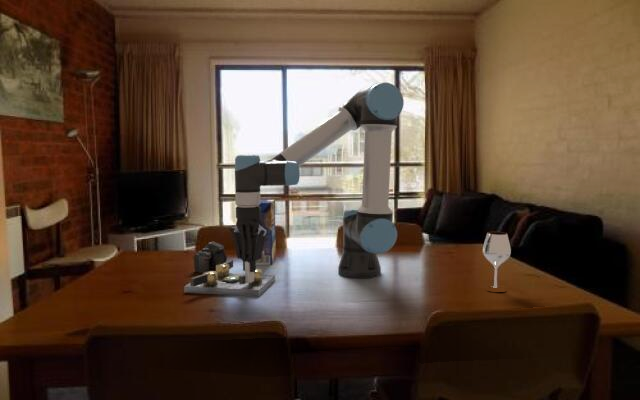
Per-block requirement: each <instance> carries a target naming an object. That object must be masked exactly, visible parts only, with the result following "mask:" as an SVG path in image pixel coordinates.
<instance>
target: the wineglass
mask: <svg viewBox="0 0 640 400" xmlns="http://www.w3.org/2000/svg"><path fill="white" fill-rule="evenodd" d="M511 251H512V248H511V244H510V240H509V236H508V232H503V231H489V232H487V233H486V236H485V239H484V243H483V246H482V254H483V256H484V257H485V259H486V260H487V261H488V262H489V263H490V264H491V265H493V267H494V275H493V276H494V279H493V281H494V282H493V286H492V287H493V288H497V287H498V268H499V267H500V266H501V265H502V264H503V263H505V262H506V261H508V259H509V258H510V257H511V253H512V252H511Z"/></svg>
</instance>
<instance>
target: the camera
mask: <svg viewBox="0 0 640 400" xmlns="http://www.w3.org/2000/svg"><path fill="white" fill-rule="evenodd" d="M192 259H193V266H194V271H195V272H197V273H200V274H203V273H204V272H208V271H215V270H216V265H219V264H223V263H225V262H227V261H228V260H227V259H228V257H227V255H226V252H225V246H224V245H222V244H220V243H219V242H215V241H211V242H208V244H207V245H205V246H204V248H202V249H201V250H199V251H196V252H195V253H194V255H193V257H192Z"/></svg>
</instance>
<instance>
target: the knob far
mask: <svg viewBox="0 0 640 400" xmlns="http://www.w3.org/2000/svg"><path fill="white" fill-rule="evenodd" d="M232 268H234V260H233V259H229V260H227V261H226V262H225V263H223V264H219V265H216V269H215V271H216V272H218V276H219V277H224V276H228V275H229V273H230V270H231V269H232Z"/></svg>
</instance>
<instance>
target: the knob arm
mask: <svg viewBox="0 0 640 400" xmlns="http://www.w3.org/2000/svg"><path fill="white" fill-rule="evenodd" d="M262 274H263V270H262V269H261V268H260V269H259V268H256V271H254V281H253V282H261V281H262ZM239 284H245V273H243V275H241V276H239Z"/></svg>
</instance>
